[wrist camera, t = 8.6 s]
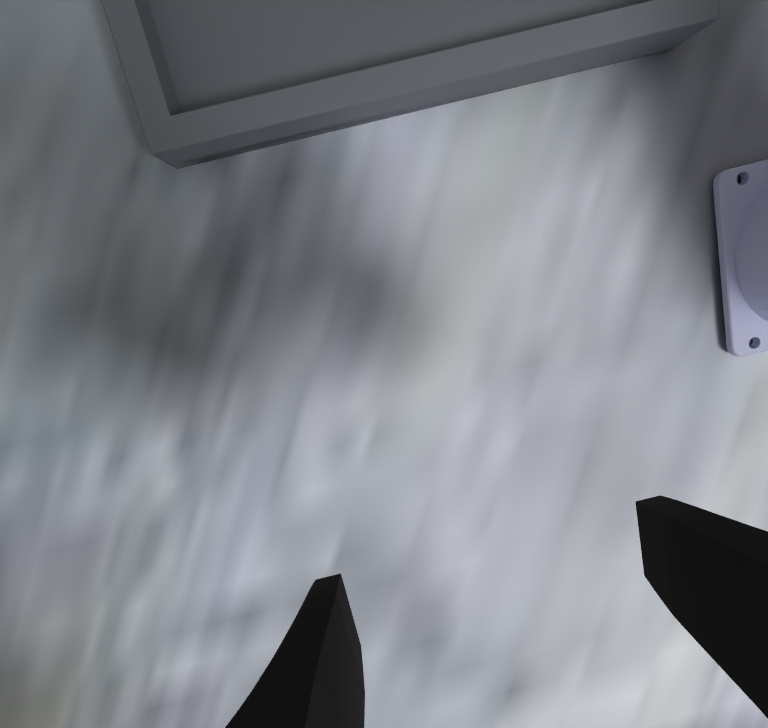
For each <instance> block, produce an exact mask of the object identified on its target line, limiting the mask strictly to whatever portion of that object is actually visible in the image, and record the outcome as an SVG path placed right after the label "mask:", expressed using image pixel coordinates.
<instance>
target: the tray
mask: <svg viewBox="0 0 768 728" xmlns="http://www.w3.org/2000/svg"><path fill="white" fill-rule="evenodd" d="M101 1H102V4H103V7H104V10H105V13H106V17H107V20H108V23H109V26H110V29H111V32H112V35H113V38H114V41H115V44H116V47H117V51H118V54H119V57H120V60H121V63H122V66H123V69H124V72H125V75H126V78H127V82H128V85H129V88H130V91H131V94H132V97H133V100H134V103H135V106H136V109H137V113H138V116H139V119H140V122H141V125H142V128H143V131H144V134H145V137H146V140H147V143H148V147H149V150H150V153H151V155H153V156H155V157H157V158H159V159H161V160H162V161H164V162H166V163H168V164H170V165H172V166H173V167H175V168H177V169H178V168H182V167H186V166H190V165H195V164H199V163H203V162H207V161H211V160H215V159H219V158H224V157H228V156H232V155H236V154H240V153H244V152H248V151H253V150H257V149H261V148H265V147H269V146H273V145H278V144H282V143H286V142H290V141H294V140H298V139H302V138H307V137H311V136H315V135H319V134H323V133H327V132H331V131H336V130H340V129H344V128H348V127H352V126H356V125H360V124H365V123H369V122H373V121H377V120H381V119H385V118H389V117H394V116H398V115H402V114H406V113H410V112H414V111H418V110H423V109H427V108H431V107H435V106H439V105H443V104H447V103H452V102H456V101H460V100H464V99H468V98H472V97H477V96H481V95H485V94H489V93H493V92H497V91H501V90H506V89H510V88H514V87H518V86H522V85H526V84H530V83H535V82H539V81H543V80H547V79H551V78H555V77H559V76H564V75H568V74H572V73H576V72H580V71H584V70H588V69H593V68H597V67H601V66H605V65H609V64H613V63H617V62H622V61H626V60H630V59H634V58H638V57H642V56H646V55H651V54H655V53H659V52H663V51H667V50H671V49H673V48H675V47H676V46H678V45H679V44H681V43H682V42H684V41H685V40H687V39H688V38H690V37H691V36H693V35H694V34H696V33H697V32H699V31H700V30H702V29H703V28H705V27H706V26H708V25H709V24H710V23H712V22H713V21H715V20H716V19H718V18H719V5H718V0H101Z"/></svg>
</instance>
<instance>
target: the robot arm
mask: <svg viewBox="0 0 768 728" xmlns="http://www.w3.org/2000/svg"><path fill="white" fill-rule="evenodd" d="M738 174H739V175H740V176H741V183H740V184H738V183H737V176H738ZM713 191H714V203H715V214H716V226H717V238H718V250H719V262H720V274H721V285H722V297H723V309H724V321H725V333H726V345H727V350H728V352H729V353H730V354H732V355H735V356H739V357H740V356H747V355H751V354H755V353H759V352H763V351H767V350H768V159H767V160H763V161H759V162H755V163H751V164H747V165H743V166H739V167H735V168H731V169H727V170H723V171H721V172H719V173H718V174H717V175H716V176H715V179H714V181H713ZM751 338H753V343H752V344H751V346H749V341H750V340H751ZM636 510H637V518H638V526H639V534H640V542H641V551H642V559H643V567H644V575H645V577H646V578H647V580H648V581H649V583H650V584H651V586H652V587H653V588H654V590H655V591H656V593H657V594H658V596H659V597H660V598H661V600H662V601H663V602H664V604H665V605H666V606H667V608H668V609H669V610H670V612H671V613H672V614H673V616H674V617H675V618H676V619H677V620H678V621H679V622H680V623H681V625H682V626H683V627H684V628H685V629H686V630H687V631H688V632H689V633H690V634H691V635H692V637H693V638H694V639H695V640H696V641H697V642H698V643H699V644H700V645H701V646H702V647H703V649H704V650H705V651H706V652H707V653H708V654H709V655H710V656H711V657H712V658H713V659H714V660H715V661H716V663H717V664H718V665H719V666H720V667H721V668H722V669H723V670H724V671H725V672H726V673H727V674H728V675H729V677H730V678H731V679H732V680H733V681H734V682H735V683H736V684H737V685H738V686H739V687H740V688H741V689H742V691H743V692H744V693H745V694H746V695H747V696H748V697H749V698H750V699H751V700H752V701H753V702H754V703H755V705H756V706H757V707H758V708H759V709H760V710H761V711H762V712H763V714H764V715H765V716H766V717H767V718H768V532H767V531H764V530H761V529H758V528H755V527H752V526H749V525H746V524H743V523H741V522H738V521H735V520H732V519H729V518H726V517H723V516H721V515H718V514H715V513H712V512H709V511H706V510H704V509H701V508H698V507H695V506H692V505H689V504H686V503H683V502H680V501H677V500H674V499H671V498H667V497H664V496H656V497H652V498H648V499H644V500H640V501H636ZM364 709H365V689H364V675H363V664H362V652H361V644H360V641H359V637H358V634H357V630H356V627H355V623H354V619H353V616H352V612H351V609H350V605H349V601H348V598H347V594H346V591H345V587H344V583H343V580H342V576H341V574H337V575H333V576H329V577H325V578H321V579H317V580H315V582H314V583H313V585H312V586H311V588H310V590H309V592H308V594H307V596H306V598H305V600H304V602H303V604H302V606H301V608H300V610H299V612H298V614H297V616H296V618H295V619H294V621H293V623H292V625H291V627H290V629H289V630H288V632H287V634H286V636H285V638H284V639H283V641H282V643H281V645H280V646H279V648H278V650H277V652H276V653H275V655H274V657H273V658H272V660H271V662H270V663H269V665H268V666H267V668H266V669H265V671H264V673H263V674H262V676H261V677H260V679H259V681H258V682H257V684H256V685H255V687H254V688H253V690H252V691H251V693H250V694H249V696H248V697H247V699H246V700H245V702H244V703H243V704H242V706H241V707H240V709H239V710H238V711H237V713H236V714H235V715H234V717H233V718H232V719H231V721H230V722H229V723H228V725H227V726H226V727H225V728H364Z"/></svg>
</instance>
